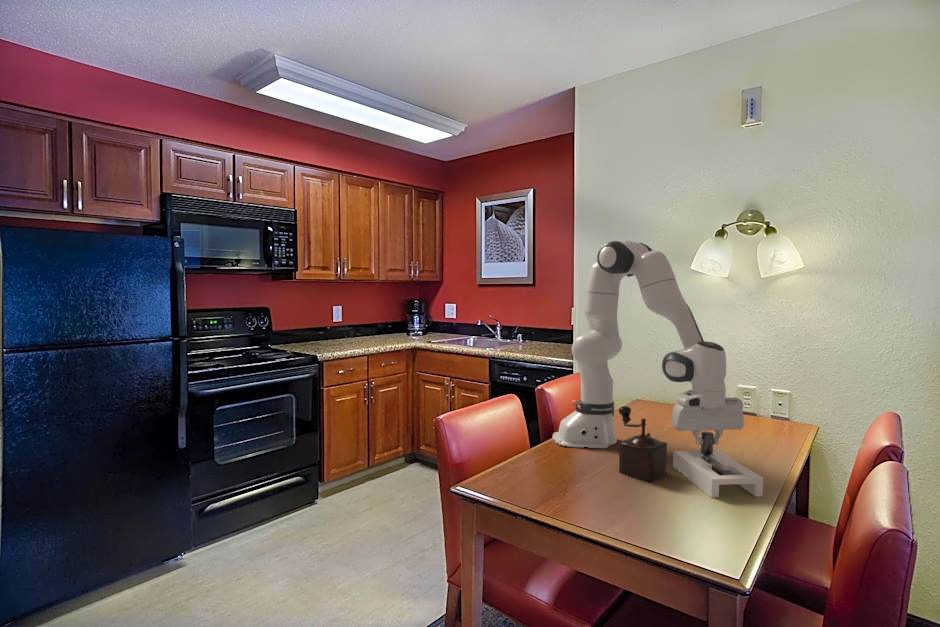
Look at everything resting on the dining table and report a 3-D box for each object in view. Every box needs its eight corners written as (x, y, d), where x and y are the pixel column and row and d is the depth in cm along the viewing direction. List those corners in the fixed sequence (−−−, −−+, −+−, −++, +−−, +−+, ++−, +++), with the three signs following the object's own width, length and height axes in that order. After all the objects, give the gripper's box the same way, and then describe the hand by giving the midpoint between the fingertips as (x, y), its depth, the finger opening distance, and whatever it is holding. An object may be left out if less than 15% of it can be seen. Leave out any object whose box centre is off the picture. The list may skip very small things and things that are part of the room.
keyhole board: (711, 497, 133) (711, 479, 133) (673, 466, 155) (673, 450, 155) (762, 496, 134) (763, 477, 134) (717, 465, 156) (717, 449, 156)
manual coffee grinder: (669, 472, 151) (670, 413, 149) (650, 483, 143) (652, 420, 142) (622, 459, 162) (623, 403, 161) (602, 468, 154) (603, 410, 153)
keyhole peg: (702, 474, 147) (703, 435, 146) (693, 468, 152) (694, 430, 151) (719, 474, 147) (720, 435, 146) (709, 468, 152) (711, 430, 151)
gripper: (736, 394, 151) (734, 440, 152) (669, 395, 150) (668, 441, 151) (749, 399, 145) (747, 447, 146) (679, 401, 144) (678, 448, 145)
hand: (706, 444), depth 149 cm, fingers closed on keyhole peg, 3 cm apart
